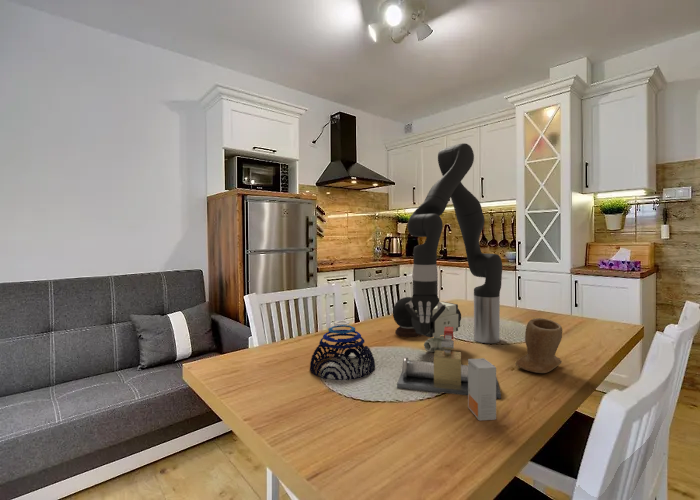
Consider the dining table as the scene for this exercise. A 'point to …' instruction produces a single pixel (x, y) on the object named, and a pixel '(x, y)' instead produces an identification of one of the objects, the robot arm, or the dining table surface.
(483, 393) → the skincare box
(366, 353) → the decorative bowl
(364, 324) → the dining table surface
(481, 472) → the dining table surface
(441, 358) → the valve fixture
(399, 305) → the black ball on base
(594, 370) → the dining table surface
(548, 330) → the stone cup
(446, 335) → the valve lever
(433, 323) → the ball valve
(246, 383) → the dining table surface
